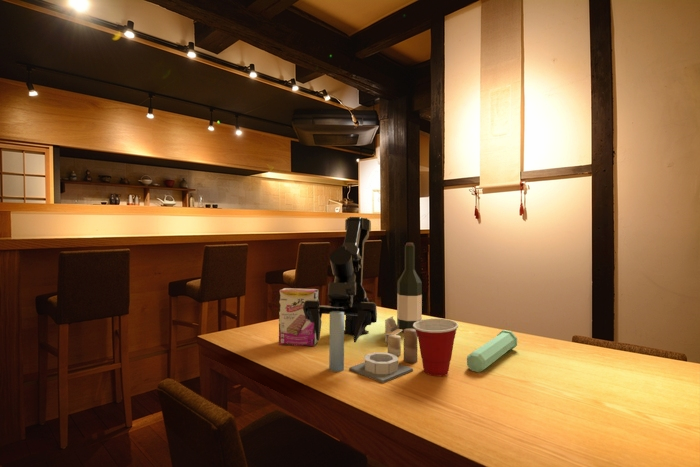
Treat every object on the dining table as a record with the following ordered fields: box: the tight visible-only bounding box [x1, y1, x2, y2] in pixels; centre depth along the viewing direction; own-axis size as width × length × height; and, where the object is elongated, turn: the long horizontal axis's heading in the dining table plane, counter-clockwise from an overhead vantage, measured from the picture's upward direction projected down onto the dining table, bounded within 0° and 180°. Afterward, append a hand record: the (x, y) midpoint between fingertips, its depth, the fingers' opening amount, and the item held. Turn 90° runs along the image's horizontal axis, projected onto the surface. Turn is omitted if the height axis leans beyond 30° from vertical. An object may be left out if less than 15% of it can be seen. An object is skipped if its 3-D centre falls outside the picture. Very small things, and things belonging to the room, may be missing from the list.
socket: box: [348, 351, 414, 384], centre depth 93 cm, size 11×11×3 cm
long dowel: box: [328, 311, 345, 373], centre depth 94 cm, size 4×4×14 cm
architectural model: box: [384, 316, 402, 344], centre depth 118 cm, size 3×7×8 cm, turn 151°
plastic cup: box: [413, 317, 459, 377], centre depth 93 cm, size 11×11×12 cm
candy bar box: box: [278, 287, 319, 347], centre depth 115 cm, size 11×5×16 cm, turn 84°
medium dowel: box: [403, 329, 419, 364], centre depth 101 cm, size 4×4×8 cm
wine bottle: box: [396, 242, 423, 334], centre depth 131 cm, size 8×8×30 cm
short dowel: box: [387, 334, 402, 358], centre depth 105 cm, size 4×4×5 cm
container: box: [466, 329, 518, 373], centre depth 102 cm, size 6×6×25 cm
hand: (335, 340), depth 93 cm, fingers open, 9 cm apart
